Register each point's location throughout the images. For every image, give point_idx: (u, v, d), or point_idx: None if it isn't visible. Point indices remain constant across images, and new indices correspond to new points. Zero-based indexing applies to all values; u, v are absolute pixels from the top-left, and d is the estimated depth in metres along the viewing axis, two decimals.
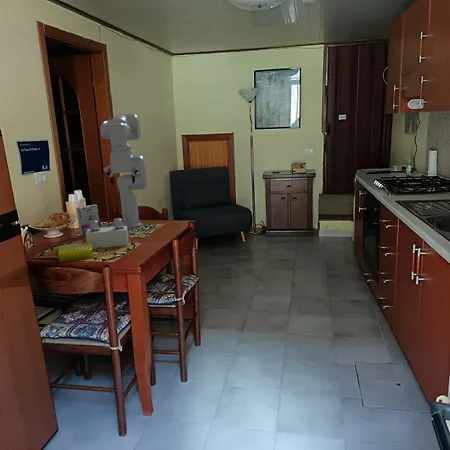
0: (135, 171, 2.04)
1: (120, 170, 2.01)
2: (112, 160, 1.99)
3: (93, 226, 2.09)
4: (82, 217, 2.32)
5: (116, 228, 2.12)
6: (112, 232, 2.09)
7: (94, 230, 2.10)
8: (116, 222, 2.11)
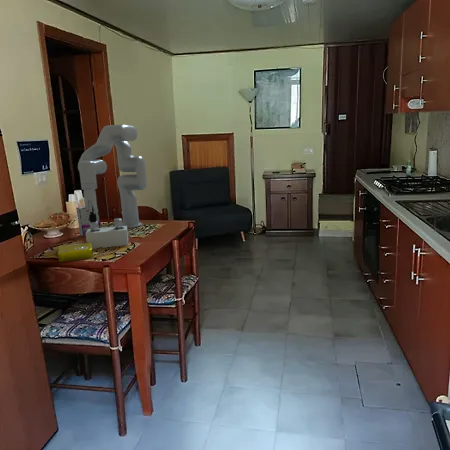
0: None
1: (95, 205, 2.08)
2: (94, 196, 2.04)
3: (93, 227, 2.09)
4: (82, 217, 2.32)
5: (116, 228, 2.12)
6: (112, 232, 2.09)
7: (94, 231, 2.10)
8: (116, 222, 2.11)
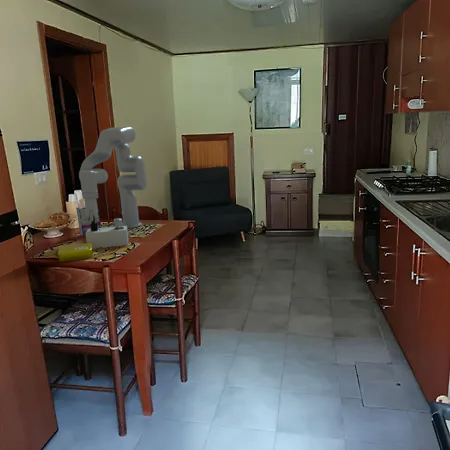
0: None
1: None
2: (95, 206, 2.05)
3: None
4: (82, 217, 2.32)
5: (116, 228, 2.12)
6: (112, 232, 2.09)
7: None
8: (116, 222, 2.11)
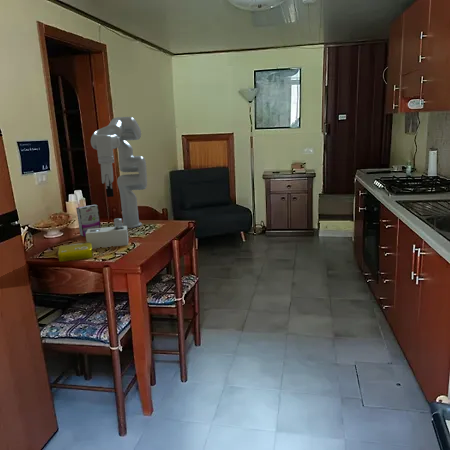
0: (111, 184, 2.10)
1: (112, 180, 2.07)
2: (111, 170, 2.03)
3: None
4: (82, 217, 2.32)
5: (116, 228, 2.12)
6: (112, 232, 2.09)
7: None
8: (116, 222, 2.11)
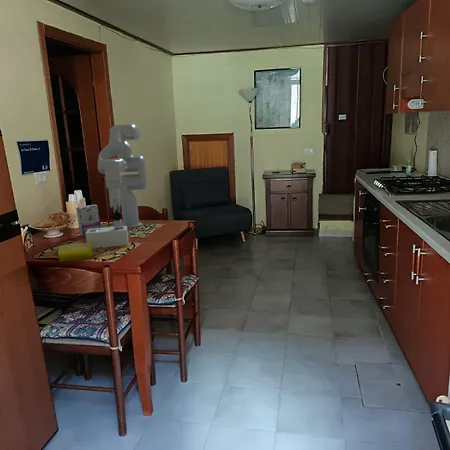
0: None
1: (120, 203, 2.10)
2: (119, 195, 2.06)
3: None
4: (82, 217, 2.32)
5: (116, 229, 2.12)
6: (112, 232, 2.09)
7: None
8: (116, 223, 2.11)
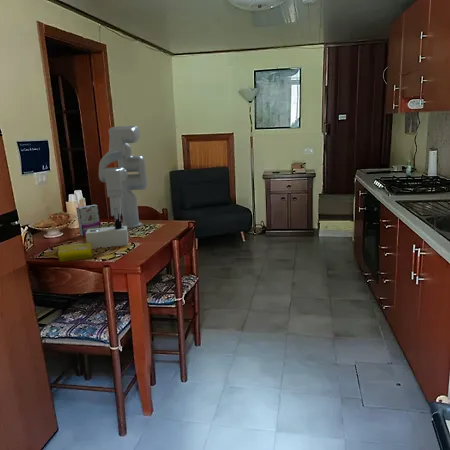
0: None
1: None
2: (120, 204, 2.07)
3: None
4: (82, 217, 2.32)
5: None
6: (112, 232, 2.09)
7: None
8: None
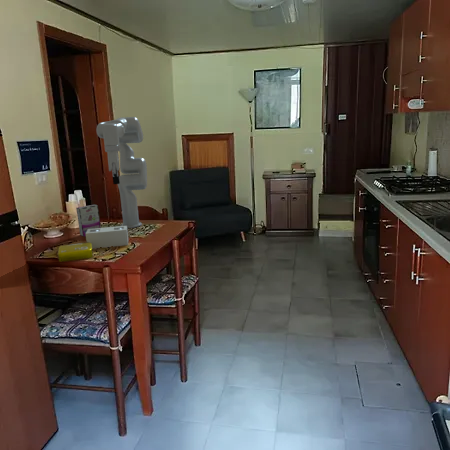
0: None
1: None
2: (117, 158, 2.11)
3: None
4: (82, 217, 2.32)
5: None
6: (112, 232, 2.09)
7: None
8: None
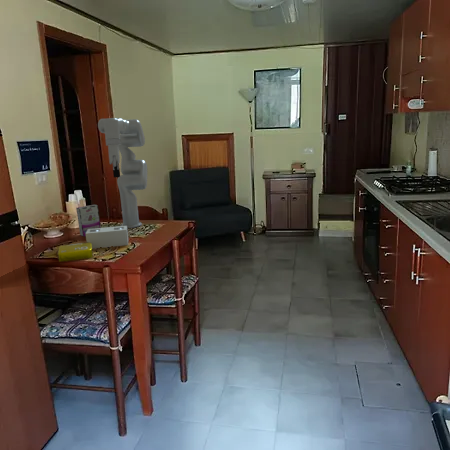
0: (117, 165, 2.22)
1: (119, 161, 2.20)
2: (118, 152, 2.15)
3: None
4: (82, 217, 2.32)
5: None
6: (112, 232, 2.09)
7: None
8: None
